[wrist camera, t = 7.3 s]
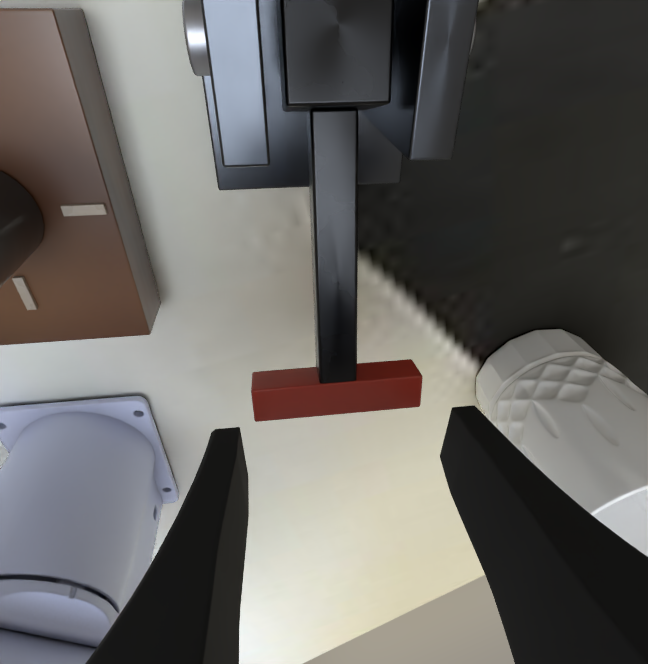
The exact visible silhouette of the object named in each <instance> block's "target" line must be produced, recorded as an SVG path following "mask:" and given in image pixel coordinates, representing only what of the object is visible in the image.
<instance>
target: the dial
mask: <svg viewBox="0 0 648 664" xmlns="http://www.w3.org/2000/svg"><path fill="white" fill-rule="evenodd" d="M43 232H44V224H43V219H42V215H41V212H40V210H39V208H38V206H37V204H36V202H35V201H34V199H33V198H32V197H31V195H30V194H29V193H28V192H27V191H26V190H25V189H24V188H23V187H22V186H21V185H20V184H19V183H18V182H17V181H15V180H14V179H12V178H11V177H10V176H8V175H6V174H5V173H3V172H1V171H0V287H1V286H2V285H3V284H4V283H5V282H6V281H7V280H8V279H9V278H10V277H11V276H12V275H13V273H14V272H15V271H16V270H17V269H18V268H19V267H20V266H21V265H22V264H23V263H24V262H25V261H26V259H27V258H28V257H29V256H30V255H31V254H32V253H33V252H34V251H35V250H36V249H37V247H38V246H39V244H40V243H41V241H42V238H43Z"/></svg>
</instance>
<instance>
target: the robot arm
mask: <svg viewBox="0 0 648 664" xmlns="http://www.w3.org/2000/svg"><path fill="white" fill-rule="evenodd" d="M137 410H140V411H142V412H139V411H137ZM0 441H1V442H2V443H3V445H4V446H5V448H6V449H7V451H8V452H9V455H8V457H7V459H6V461H5V463H4V464H3V466H2V468H1V470H0V664H239V620H240V604H241V593H242V582H243V571H244V560H245V550H246V538H247V527H248V472H247V467H246V461H245V455H244V449H243V444H242V438H241V432H240V427H236V428H225V429H215V430H214V431H213V432H212V433H211V436H210V439H209V443H208V445H207V448H206V451H205V454H204V457H203V459H202V462H201V464H200V467H199V469H198V471H197V474H196V476H195V479H194V481H193V483H192V485H191V487H190V490H189V492H188V494H187V496H186V498H185V500H184V503H183V505H182V507H181V509H180V511H179V513H178V515H177V517H176V519H175V521H174V523H173V525H172V527H171V528H170V530H169V532H168V534H167V536H166V538H165V540H164V542H163V544H162V545H161V547H160V549H159V551H158V553H157V554H156V556H155V558H154V560H153V561H152V563H151V560H152V555H153V550H154V545H155V540H156V534H157V529H158V524H159V519H160V514H161V509H162V504H165V503H173V502H176V501H177V500H178V497H179V492H178V489H177V486H176V484H175V481H174V478H173V475H172V472H171V469H170V466H169V463H168V460H167V457H166V455H165V452H164V449H163V446H162V443H161V440H160V437H159V434H158V431H157V428H156V426H155V423H154V420H153V417H152V414H151V411H150V408H149V405H148V402H147V401H146V399H145V398H143V397H140V396H128V397H116V398H104V399H92V400H80V401H68V402H56V403H44V404H32V405H20V406H8V407H0ZM440 458H441V462H442V465H443V469H444V473H445V476H446V479H447V483H448V486H449V489H450V492H451V495H452V497H453V500H454V502H455V505H456V507H457V509H458V512H459V514H460V516H461V519H462V521H463V524H464V526H465V528H466V531H467V533H468V535H469V538H470V540H471V542H472V545H473V547H474V549H475V551H476V554H477V556H478V558H479V561H480V563H481V565H482V568H483V570H484V572H485V575H486V577H487V580H488V582H489V585H490V588H491V590H492V593H493V596H494V599H495V602H496V605H497V608H498V611H499V614H500V617H501V620H502V623H503V626H504V629H505V632H506V636H507V639H508V642H509V645H510V649H511V652H512V655H513V658H514V662H515V664H648V557H647V556H646V555H644V554H643V553H642V552H640V551H639V550H637V549H636V548H635V547H633V546H632V545H630V544H629V543H628V542H626V541H625V540H624V539H622V538H621V537H620V536H618V535H617V534H616V533H614V532H613V531H612V530H611V529H609V528H608V527H607V526H605V525H604V524H603V523H601V522H600V521H599V520H597V519H596V518H595V517H594V516H592V515H591V514H590V513H589V512H587V511H586V510H585V509H584V508H583V507H581V506H580V505H579V504H578V503H577V502H575V501H574V500H573V499H572V498H571V497H570V496H569V495H567V494H566V493H565V492H564V491H563V490H562V489H560V488H559V487H558V486H557V485H556V484H555V483H554V482H553V481H551V480H550V479H549V478H548V477H547V476H546V475H545V474H544V473H543V472H542V471H541V470H540V469H539V468H537V467H536V466H535V465H534V464H533V463H532V462H531V461H530V460H529V459H528V458H527V457H526V456H525V455H524V454H523V453H522V452H521V451H520V450H518V449H517V448H516V447H515V446H514V445H513V444H512V443H511V442H510V441H509V440H508V439H507V438H506V437H505V436H504V435H503V434H502V433H501V432H500V431H499V430H498V429H497V428H496V427H495V426H494V425H493V424H492V423H491V422H490V421H489V420H488V419H487V418H486V417H485V416H484V415H483V414H482V413H481V412H480V411H479V410H478V409H477V408H476V407H475V406H464V407H453V408H452V411H451V414H450V418H449V422H448V426H447V430H446V434H445V438H444V442H443V446H442V450H441V454H440Z"/></svg>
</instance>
